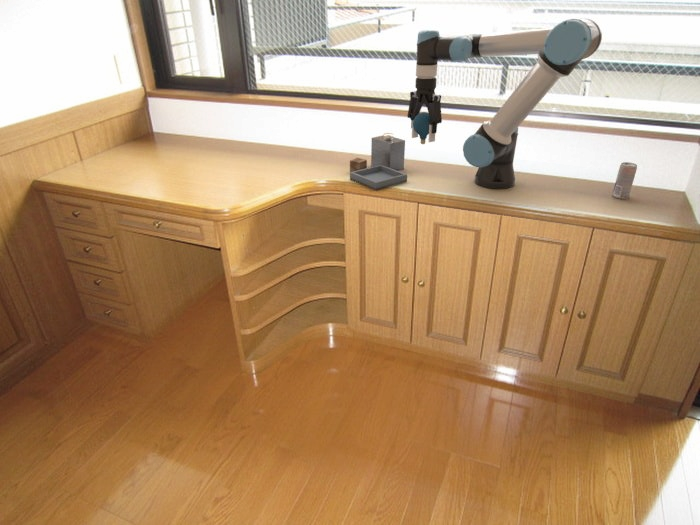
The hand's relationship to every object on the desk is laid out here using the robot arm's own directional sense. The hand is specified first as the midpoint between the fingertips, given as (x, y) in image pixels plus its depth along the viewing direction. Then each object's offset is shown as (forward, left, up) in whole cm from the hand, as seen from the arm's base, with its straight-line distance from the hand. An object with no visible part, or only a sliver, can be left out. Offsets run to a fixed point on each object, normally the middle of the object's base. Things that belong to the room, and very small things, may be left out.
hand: (423, 139), depth 189 cm
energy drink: (-60, -42, -16) cm, 75 cm away
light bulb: (0, 0, -2) cm, 2 cm away
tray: (+8, +15, -16) cm, 23 cm away
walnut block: (+22, +14, -16) cm, 31 cm away
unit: (+19, +1, -16) cm, 25 cm away
